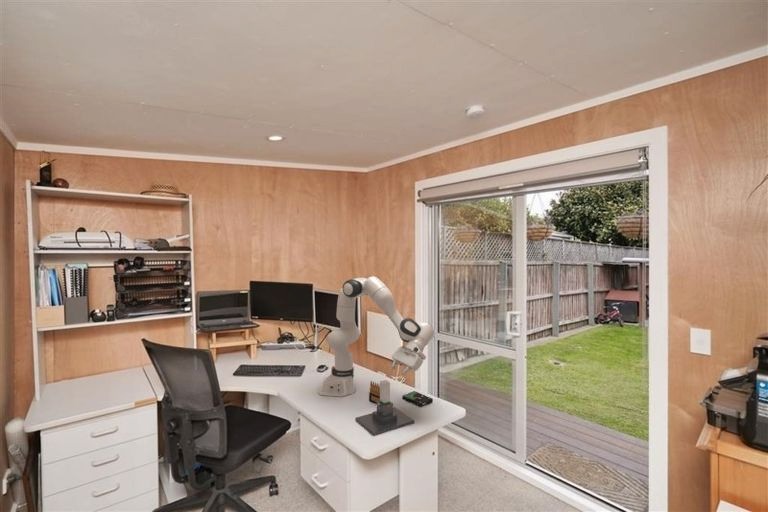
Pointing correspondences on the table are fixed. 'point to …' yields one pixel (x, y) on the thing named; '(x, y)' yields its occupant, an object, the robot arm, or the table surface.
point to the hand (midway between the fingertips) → (397, 371)
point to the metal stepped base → (384, 419)
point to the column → (384, 392)
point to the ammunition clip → (374, 392)
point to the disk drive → (417, 399)
